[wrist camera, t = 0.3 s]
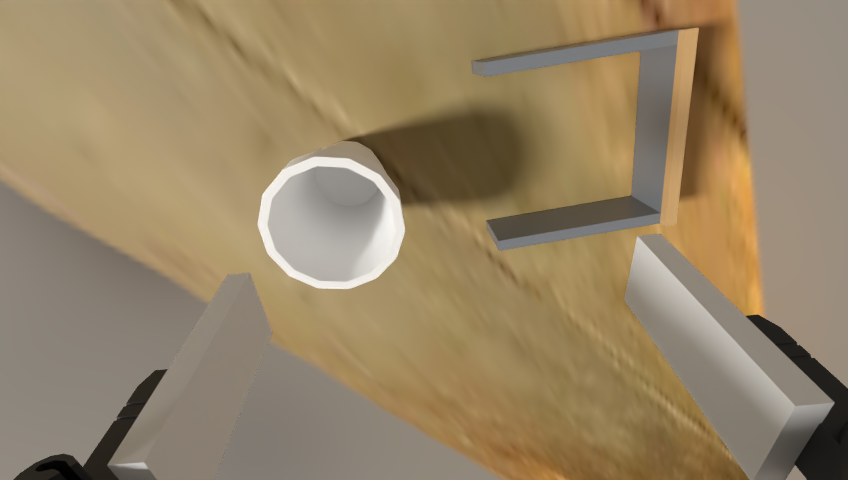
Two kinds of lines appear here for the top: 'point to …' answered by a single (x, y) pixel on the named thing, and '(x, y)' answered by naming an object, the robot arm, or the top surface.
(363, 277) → the foam cup
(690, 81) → the box
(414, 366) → the top surface
